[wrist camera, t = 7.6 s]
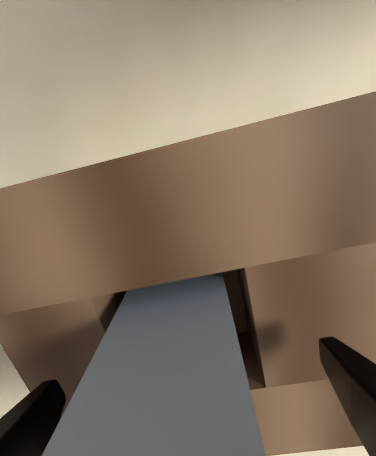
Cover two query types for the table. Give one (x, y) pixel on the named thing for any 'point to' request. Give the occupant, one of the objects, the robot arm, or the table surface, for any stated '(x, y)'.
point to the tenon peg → (164, 380)
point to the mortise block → (210, 256)
